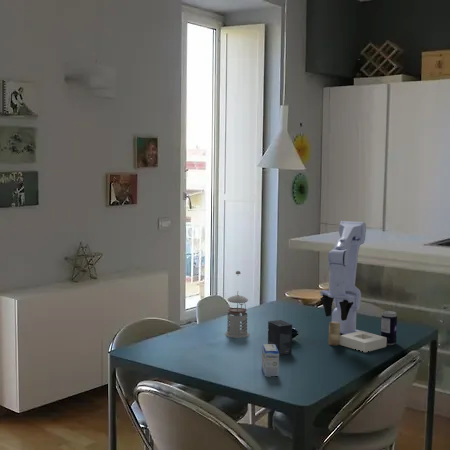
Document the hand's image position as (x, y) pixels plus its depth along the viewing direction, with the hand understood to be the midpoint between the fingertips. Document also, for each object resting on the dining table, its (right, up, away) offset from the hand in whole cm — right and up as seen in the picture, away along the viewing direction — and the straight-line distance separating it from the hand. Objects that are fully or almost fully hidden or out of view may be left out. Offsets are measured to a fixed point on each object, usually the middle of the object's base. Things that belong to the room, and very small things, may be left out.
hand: (336, 318), depth 260 cm
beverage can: (+20, -10, +3) cm, 23 cm away
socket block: (+10, -10, -1) cm, 14 cm away
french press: (-36, -8, +14) cm, 40 cm away
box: (-22, -11, -9) cm, 26 cm away
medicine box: (-27, -14, -33) cm, 45 cm away
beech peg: (-1, -10, +1) cm, 10 cm away
